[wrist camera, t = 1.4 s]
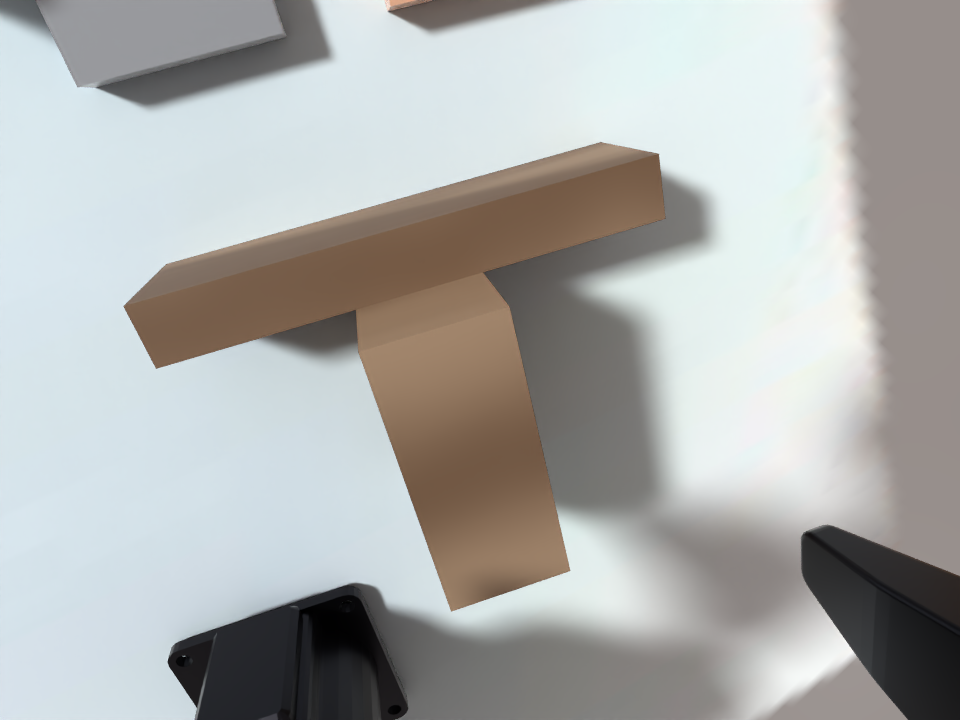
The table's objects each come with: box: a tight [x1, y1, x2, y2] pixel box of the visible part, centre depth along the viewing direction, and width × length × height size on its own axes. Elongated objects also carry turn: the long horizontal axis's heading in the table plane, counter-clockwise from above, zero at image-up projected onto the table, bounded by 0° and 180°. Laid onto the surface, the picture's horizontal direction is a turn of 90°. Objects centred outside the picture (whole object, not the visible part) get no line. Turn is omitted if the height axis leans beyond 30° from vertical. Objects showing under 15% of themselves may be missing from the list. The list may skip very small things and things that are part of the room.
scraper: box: [124, 142, 665, 611], centre depth 16 cm, size 8×12×6 cm
